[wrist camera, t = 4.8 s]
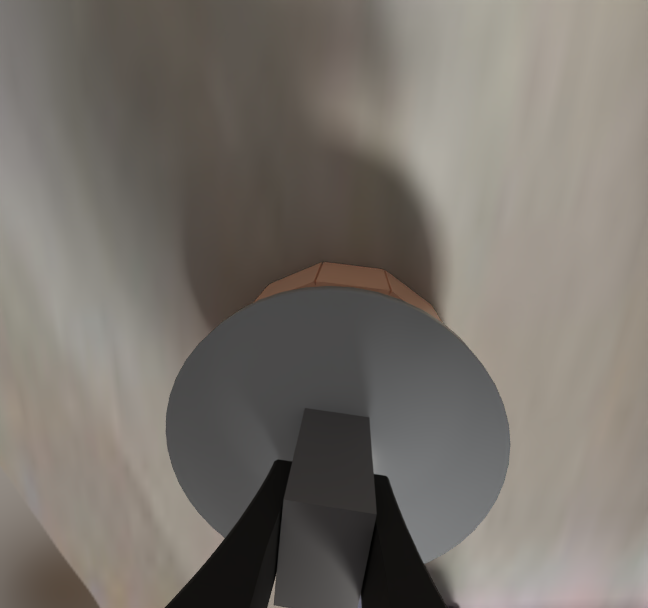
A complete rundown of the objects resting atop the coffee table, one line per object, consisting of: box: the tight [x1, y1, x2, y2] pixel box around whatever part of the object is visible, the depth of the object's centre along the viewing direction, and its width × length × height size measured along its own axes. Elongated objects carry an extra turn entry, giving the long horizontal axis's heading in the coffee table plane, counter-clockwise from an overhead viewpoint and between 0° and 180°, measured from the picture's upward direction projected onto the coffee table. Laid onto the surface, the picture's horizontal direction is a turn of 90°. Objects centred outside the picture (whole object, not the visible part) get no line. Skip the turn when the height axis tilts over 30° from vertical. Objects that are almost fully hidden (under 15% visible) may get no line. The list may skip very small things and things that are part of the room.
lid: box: [166, 286, 510, 608], centre depth 11 cm, size 13×13×5 cm
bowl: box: [253, 262, 442, 322], centre depth 17 cm, size 12×12×4 cm
